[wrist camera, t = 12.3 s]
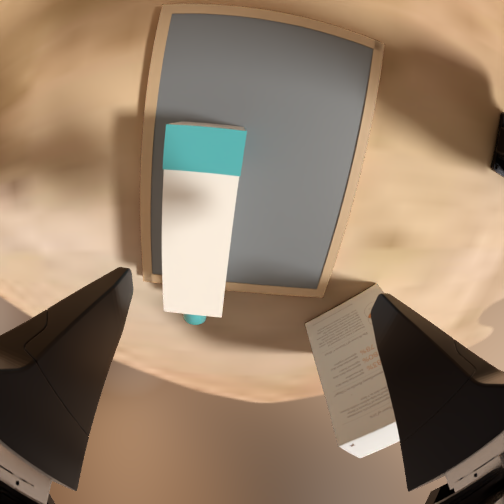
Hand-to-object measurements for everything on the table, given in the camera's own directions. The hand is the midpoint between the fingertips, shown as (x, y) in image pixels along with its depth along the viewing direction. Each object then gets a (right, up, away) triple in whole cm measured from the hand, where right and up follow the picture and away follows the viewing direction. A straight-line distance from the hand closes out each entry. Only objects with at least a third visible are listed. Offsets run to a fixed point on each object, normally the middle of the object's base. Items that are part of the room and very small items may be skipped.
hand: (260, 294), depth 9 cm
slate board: (0, +8, +9) cm, 12 cm away
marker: (-4, +4, +10) cm, 11 cm away
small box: (+10, -5, +17) cm, 20 cm away
